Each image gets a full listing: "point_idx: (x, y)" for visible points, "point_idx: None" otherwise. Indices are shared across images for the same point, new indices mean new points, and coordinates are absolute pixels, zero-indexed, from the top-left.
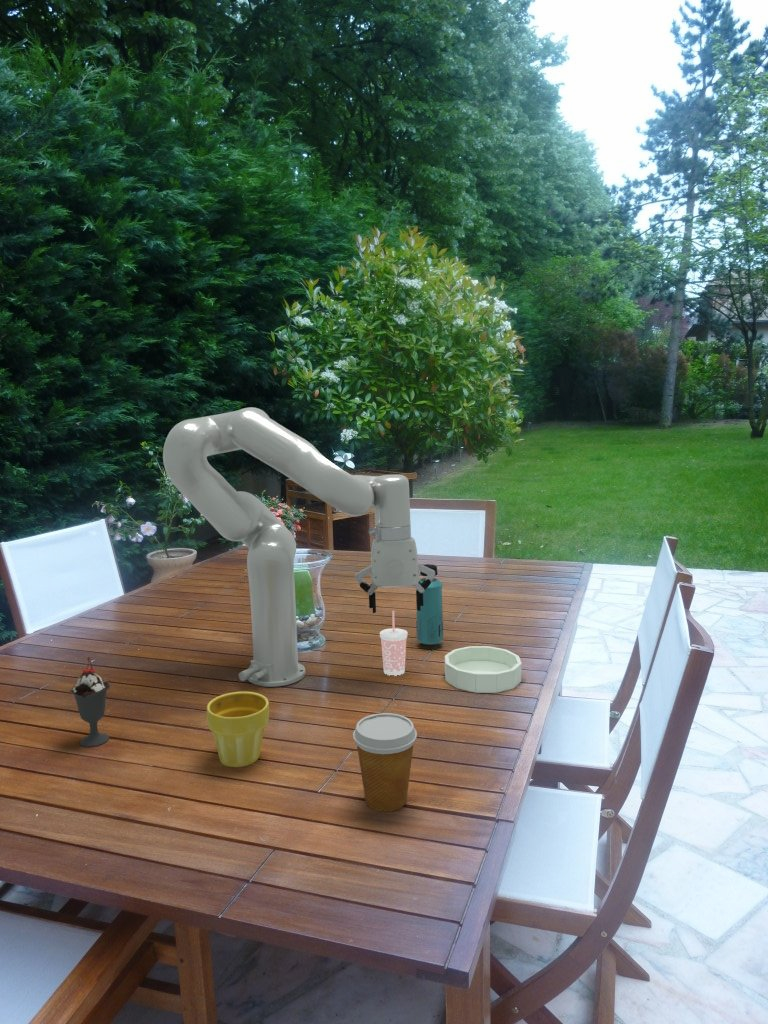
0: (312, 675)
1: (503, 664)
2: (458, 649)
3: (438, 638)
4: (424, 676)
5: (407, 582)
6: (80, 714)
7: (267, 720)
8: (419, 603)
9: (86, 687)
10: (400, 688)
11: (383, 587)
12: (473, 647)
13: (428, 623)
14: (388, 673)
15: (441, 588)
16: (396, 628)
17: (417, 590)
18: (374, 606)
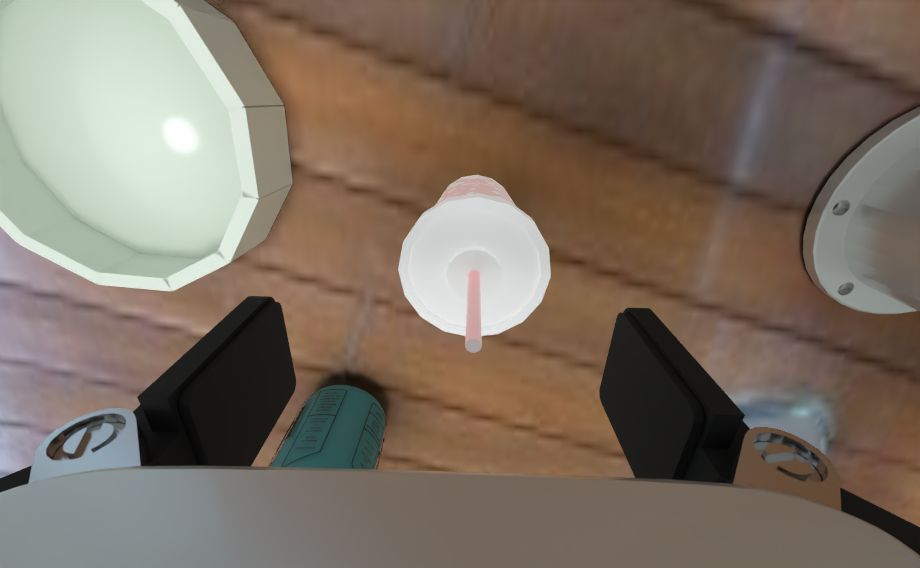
0: (779, 205)
1: (75, 210)
2: (211, 263)
3: (310, 399)
4: (366, 160)
5: (139, 532)
6: None
7: None
8: (222, 327)
9: None
10: (461, 41)
11: (658, 479)
12: (155, 278)
13: (323, 442)
14: (498, 184)
15: None
16: (455, 332)
17: (159, 452)
18: (655, 334)
